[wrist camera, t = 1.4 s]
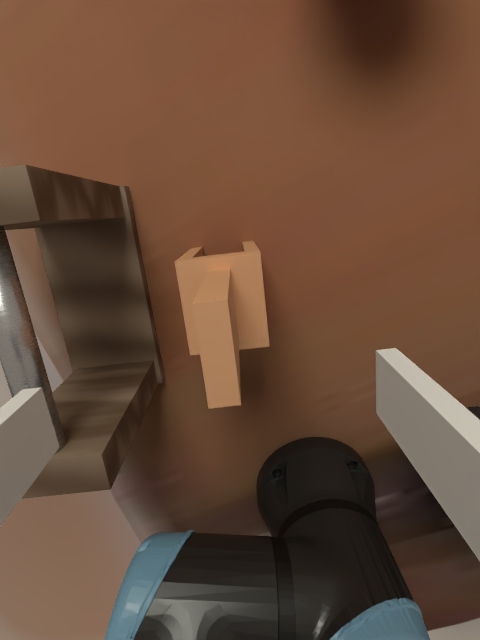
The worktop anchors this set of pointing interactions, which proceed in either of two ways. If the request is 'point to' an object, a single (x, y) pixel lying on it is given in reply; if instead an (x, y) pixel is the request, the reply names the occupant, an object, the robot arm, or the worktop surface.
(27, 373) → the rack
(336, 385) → the worktop surface
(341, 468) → the robot arm
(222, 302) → the tan joined planks
